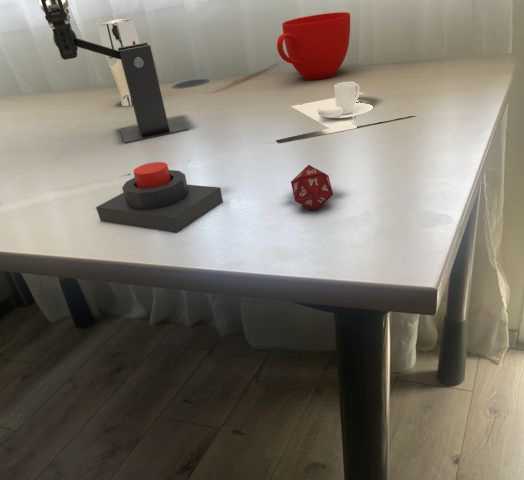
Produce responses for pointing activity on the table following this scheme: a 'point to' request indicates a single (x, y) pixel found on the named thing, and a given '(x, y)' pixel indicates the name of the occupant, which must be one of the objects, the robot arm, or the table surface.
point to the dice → (311, 188)
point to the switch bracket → (145, 96)
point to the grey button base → (160, 204)
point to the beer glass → (114, 38)
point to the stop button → (152, 175)
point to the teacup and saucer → (333, 111)
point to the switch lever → (93, 46)
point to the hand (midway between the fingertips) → (70, 55)
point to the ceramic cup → (316, 43)
